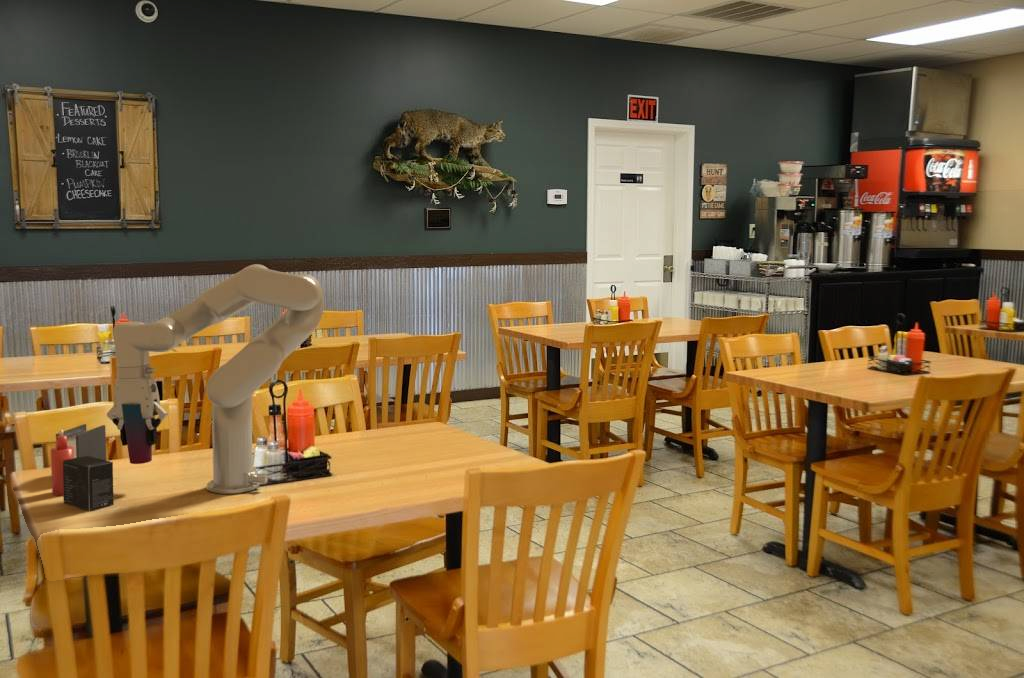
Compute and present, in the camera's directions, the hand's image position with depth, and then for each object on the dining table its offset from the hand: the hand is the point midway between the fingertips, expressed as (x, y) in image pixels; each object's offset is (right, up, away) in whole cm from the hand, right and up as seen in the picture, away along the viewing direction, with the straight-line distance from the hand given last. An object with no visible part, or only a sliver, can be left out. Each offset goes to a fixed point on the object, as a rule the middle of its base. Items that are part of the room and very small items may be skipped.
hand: (139, 443), depth 218 cm
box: (-8, -13, -10) cm, 18 cm away
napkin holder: (-20, -10, +12) cm, 26 cm away
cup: (0, -5, +1) cm, 5 cm away
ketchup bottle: (-18, -12, -2) cm, 21 cm away
